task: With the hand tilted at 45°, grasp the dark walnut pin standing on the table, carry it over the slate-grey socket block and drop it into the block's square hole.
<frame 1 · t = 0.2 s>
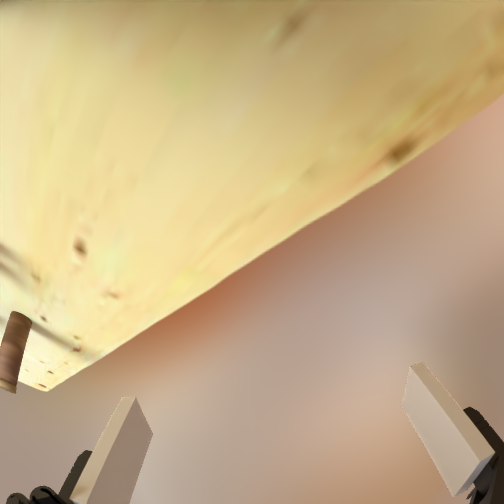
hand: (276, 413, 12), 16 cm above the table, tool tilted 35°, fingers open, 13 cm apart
walnut pin: (21, 318, 36), on the table
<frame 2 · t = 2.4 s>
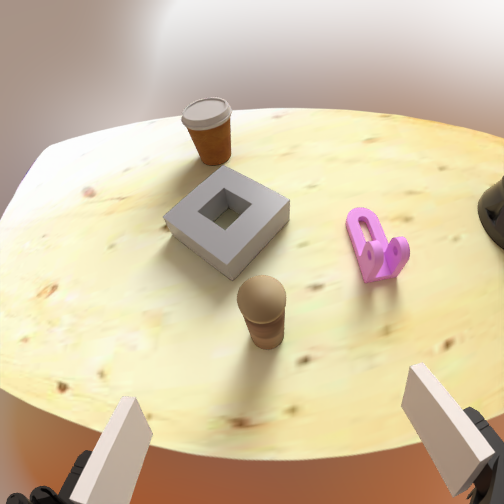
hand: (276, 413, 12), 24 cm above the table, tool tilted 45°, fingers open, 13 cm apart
socket block: (229, 227, 48), on the table
bracket: (368, 245, 44), on the table
walnut pin: (267, 333, 38), on the table
disposable coffee cup: (216, 156, 58), on the table
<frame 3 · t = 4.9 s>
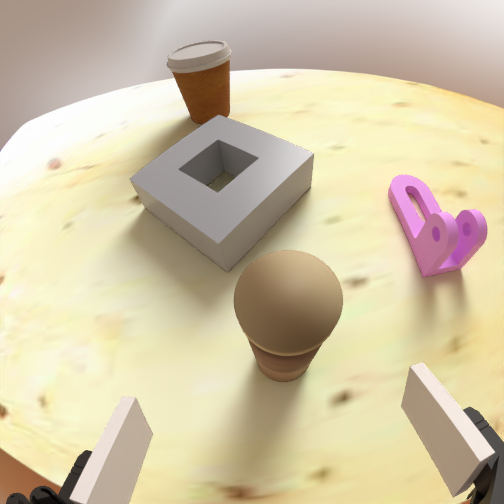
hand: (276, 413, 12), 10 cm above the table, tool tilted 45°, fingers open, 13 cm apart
socket block: (225, 195, 33), on the table
bracket: (420, 224, 29), on the table
walnut pin: (283, 356, 23), on the table
disposable coffee cup: (211, 114, 43), on the table
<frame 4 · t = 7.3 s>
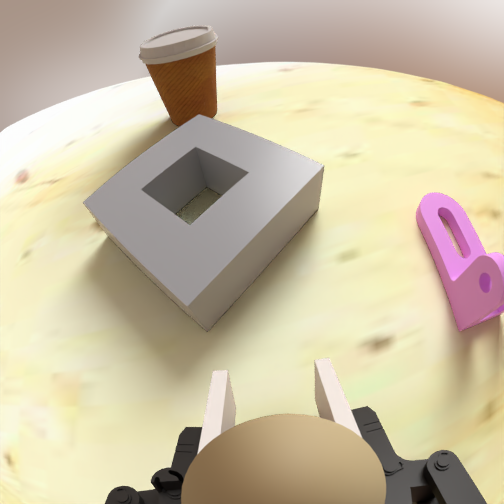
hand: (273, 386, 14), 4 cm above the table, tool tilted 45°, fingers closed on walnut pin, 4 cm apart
socket block: (206, 221, 25), on the table
bracket: (454, 258, 21), on the table
walnut pin: (279, 445, 15), on the table, touching gripper
disposable coffee cup: (194, 115, 36), on the table
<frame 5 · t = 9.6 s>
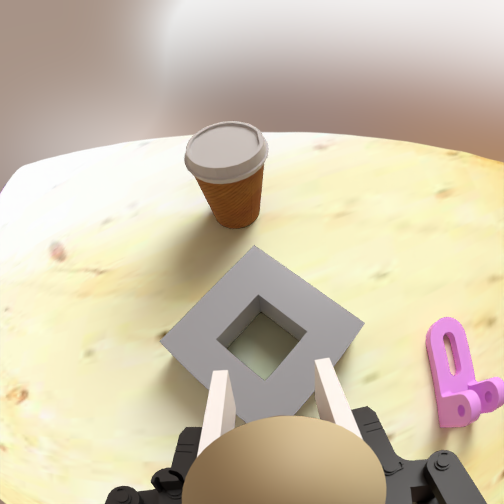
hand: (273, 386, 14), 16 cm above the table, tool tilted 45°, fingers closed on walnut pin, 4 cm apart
socket block: (263, 347, 30), on the table
bracket: (448, 370, 26), on the table
walnut pin: (280, 446, 15), point 12 cm above the table, touching gripper
disposable coffee cup: (237, 211, 40), on the table
when the fingers open (8 cm above the table, at t = 11.9 s): walnut pin drops 4 cm, resting in socket block.
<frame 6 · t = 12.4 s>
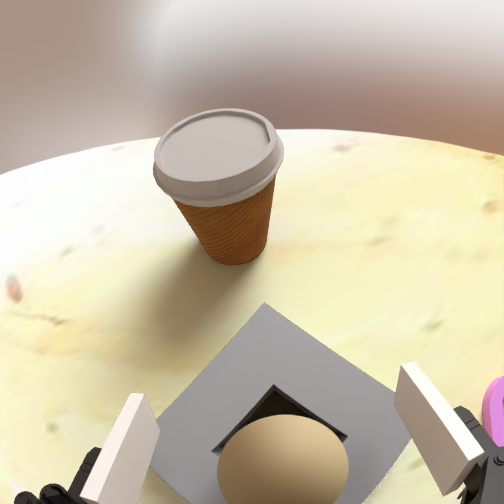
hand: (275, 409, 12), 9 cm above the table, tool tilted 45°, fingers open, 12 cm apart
socket block: (279, 440, 19), on the table
bracket: (502, 435, 15), on the table
walnut pin: (280, 440, 19), resting in socket block
disposable coffee cup: (235, 238, 29), on the table
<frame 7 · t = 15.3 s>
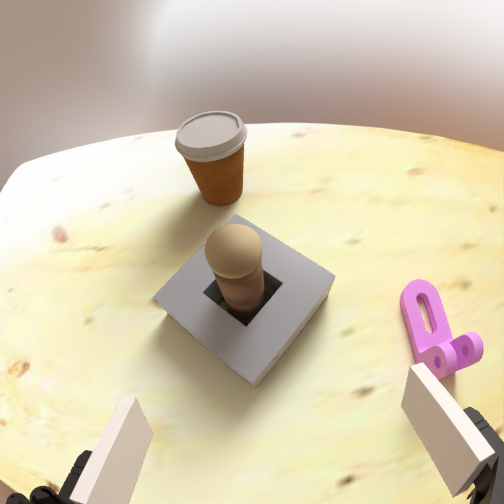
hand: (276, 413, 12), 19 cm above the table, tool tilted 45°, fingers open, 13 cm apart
socket block: (246, 305, 34), on the table
bracket: (425, 330, 31), on the table
walnut pin: (247, 305, 34), resting in socket block
disposable coffee cup: (222, 191, 45), on the table
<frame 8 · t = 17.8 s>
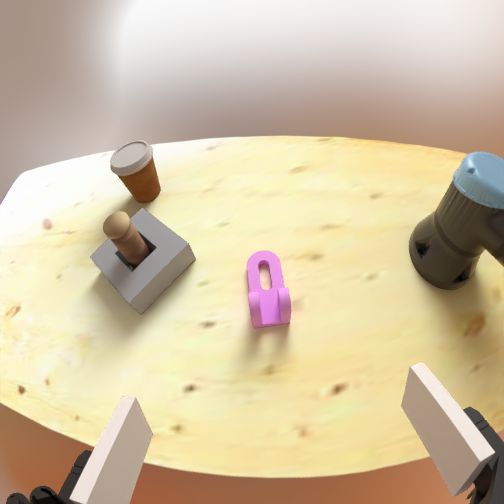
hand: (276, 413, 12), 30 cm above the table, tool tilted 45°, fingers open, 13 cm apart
socket block: (145, 264, 52), on the table
bracket: (266, 289, 48), on the table
walnut pin: (145, 265, 52), resting in socket block
disposable coffee cup: (148, 193, 62), on the table
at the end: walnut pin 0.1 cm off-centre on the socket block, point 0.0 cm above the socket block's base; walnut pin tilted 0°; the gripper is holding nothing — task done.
